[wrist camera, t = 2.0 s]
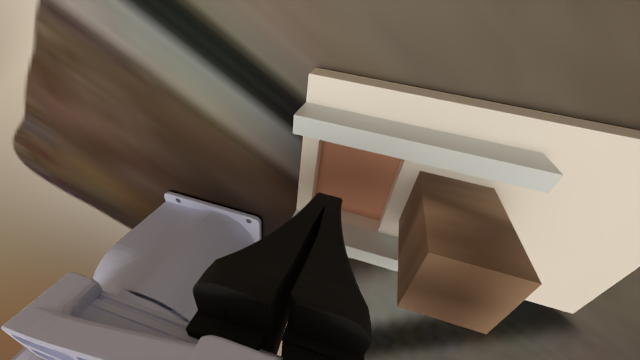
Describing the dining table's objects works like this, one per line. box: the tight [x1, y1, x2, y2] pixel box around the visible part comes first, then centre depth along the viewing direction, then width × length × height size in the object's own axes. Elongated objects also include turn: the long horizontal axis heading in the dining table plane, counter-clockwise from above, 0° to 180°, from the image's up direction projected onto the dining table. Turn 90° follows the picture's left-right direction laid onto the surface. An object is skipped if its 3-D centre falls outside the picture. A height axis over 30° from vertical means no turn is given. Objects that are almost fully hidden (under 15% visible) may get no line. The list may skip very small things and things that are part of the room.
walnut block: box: [397, 171, 542, 334], centre depth 13 cm, size 4×4×6 cm
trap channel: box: [293, 68, 640, 314], centre depth 15 cm, size 20×12×4 cm, turn 82°
